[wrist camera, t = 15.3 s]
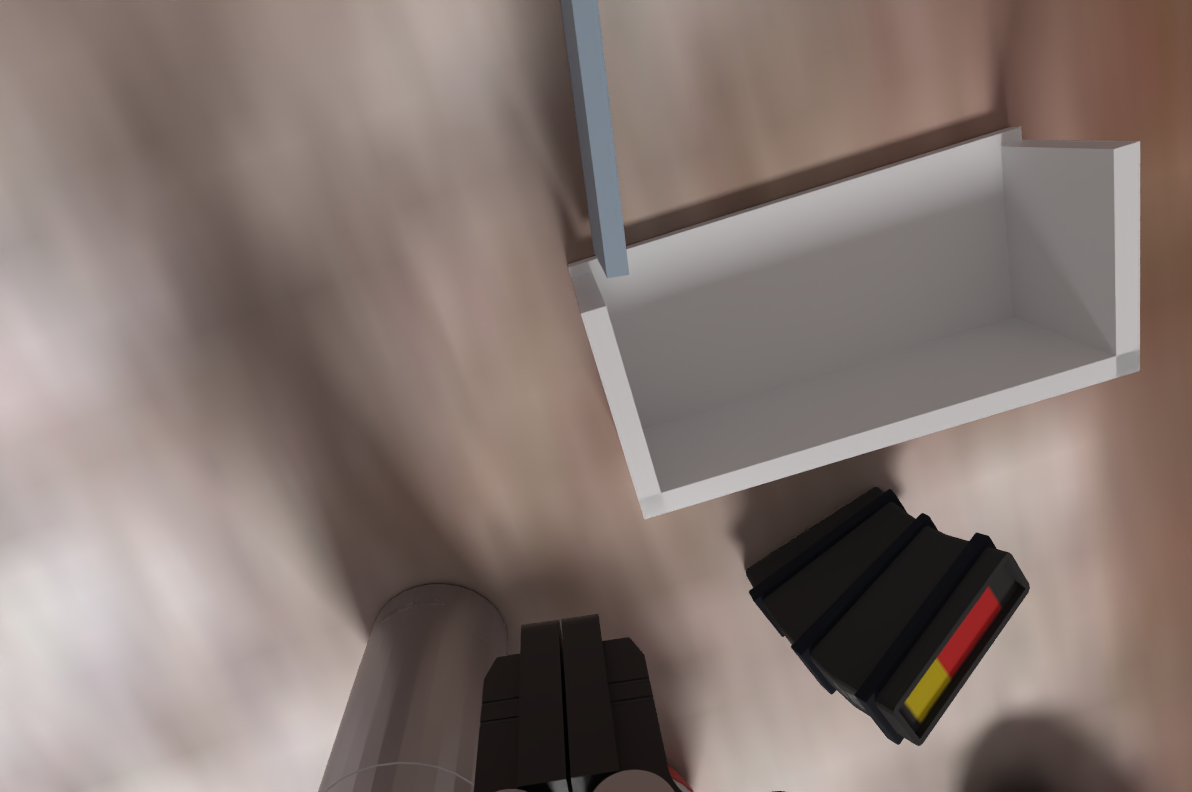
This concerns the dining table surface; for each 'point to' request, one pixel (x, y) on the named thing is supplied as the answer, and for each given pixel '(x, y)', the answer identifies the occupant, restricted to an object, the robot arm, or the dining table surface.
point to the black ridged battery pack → (889, 608)
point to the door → (595, 133)
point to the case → (867, 312)
